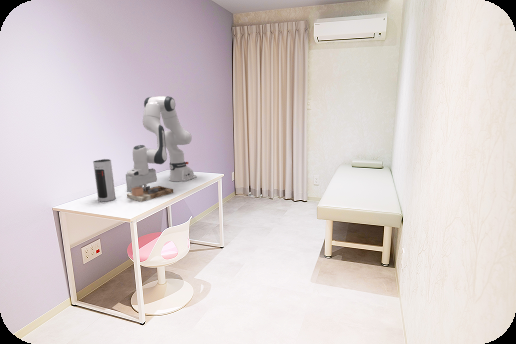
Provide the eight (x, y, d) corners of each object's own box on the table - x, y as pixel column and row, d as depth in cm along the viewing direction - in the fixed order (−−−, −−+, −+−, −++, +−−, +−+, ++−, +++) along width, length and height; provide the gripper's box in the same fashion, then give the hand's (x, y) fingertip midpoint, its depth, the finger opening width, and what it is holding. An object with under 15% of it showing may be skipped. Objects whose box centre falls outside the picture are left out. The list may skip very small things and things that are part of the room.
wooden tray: (159, 189, 233) (158, 182, 232) (173, 192, 224) (172, 185, 222) (127, 197, 214) (126, 190, 213) (141, 201, 204) (140, 194, 203)
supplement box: (136, 192, 227) (134, 174, 224) (127, 191, 228) (125, 174, 226) (142, 189, 234) (140, 172, 231) (132, 188, 235) (131, 171, 233)
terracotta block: (139, 193, 214) (138, 186, 213) (143, 194, 211) (142, 187, 210) (132, 195, 210) (131, 188, 209) (136, 196, 207) (135, 189, 206)
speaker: (94, 201, 207) (89, 160, 201) (106, 196, 217) (101, 158, 211) (107, 202, 204) (102, 161, 198) (119, 197, 213) (115, 158, 208)
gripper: (152, 167, 221) (154, 186, 224) (124, 172, 205) (126, 193, 208) (158, 168, 217) (159, 188, 220) (130, 174, 201) (132, 195, 204)
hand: (143, 191), depth 214 cm, fingers closed
